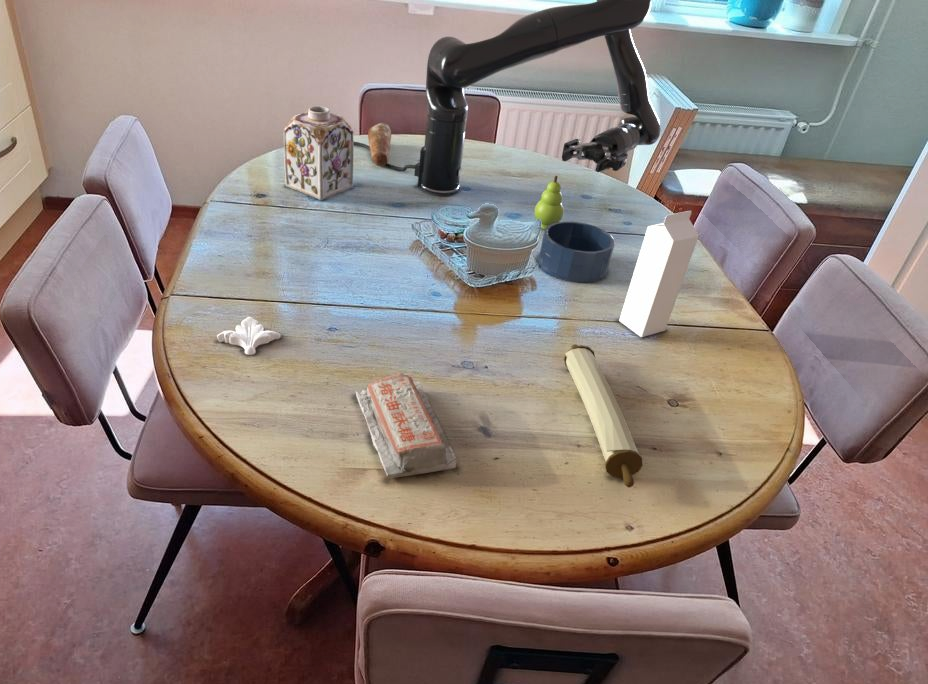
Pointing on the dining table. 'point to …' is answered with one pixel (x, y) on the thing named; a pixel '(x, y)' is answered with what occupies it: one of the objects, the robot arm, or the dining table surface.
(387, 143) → the bread
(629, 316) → the milk
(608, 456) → the rolling pin
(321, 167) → the decorative jar
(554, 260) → the pot
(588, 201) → the dining table surface
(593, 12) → the robot arm
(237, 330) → the acanthus leaf ornament
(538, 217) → the pear
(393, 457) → the packaged product
